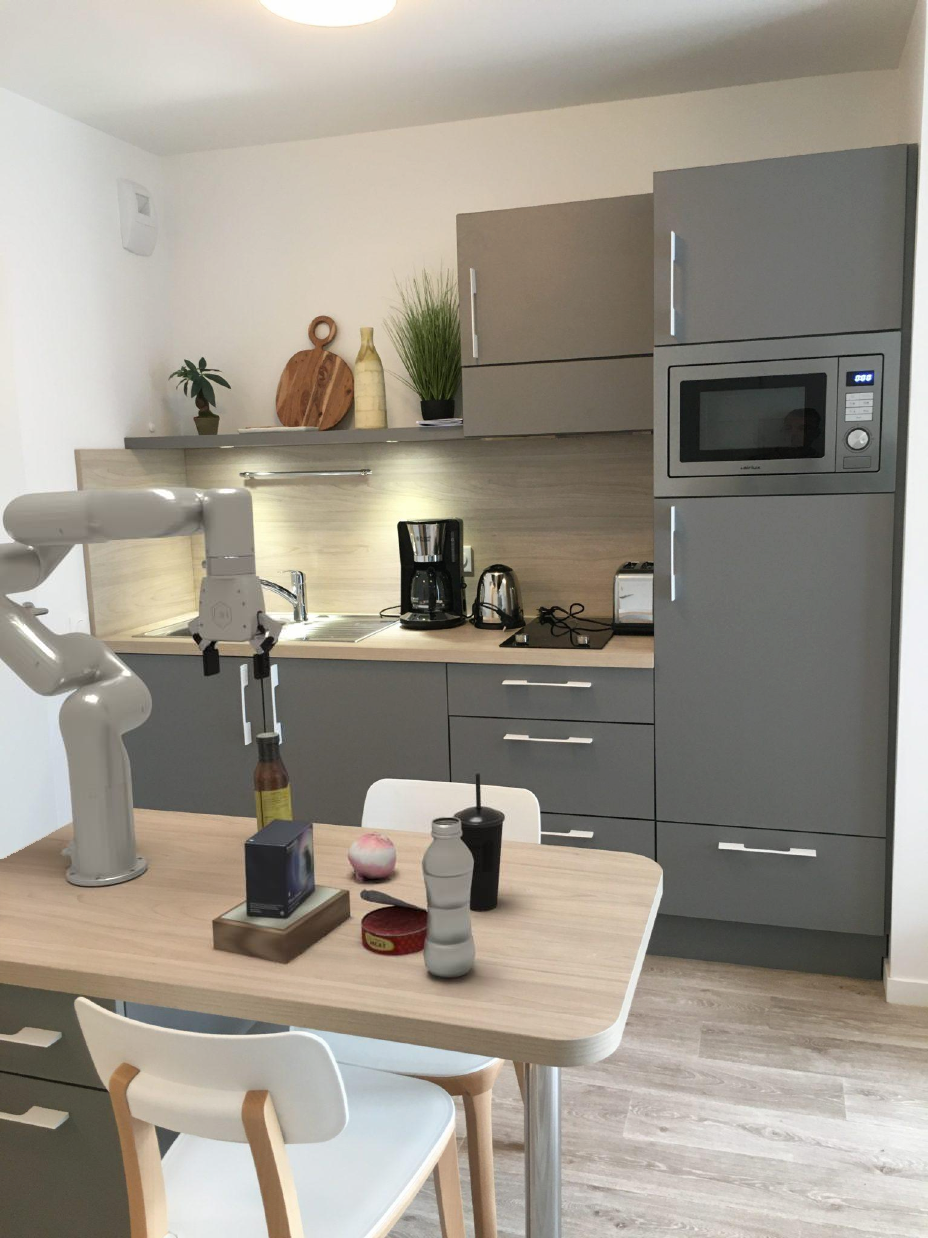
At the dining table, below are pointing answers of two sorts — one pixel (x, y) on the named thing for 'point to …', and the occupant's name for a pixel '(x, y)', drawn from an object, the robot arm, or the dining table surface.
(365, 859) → the onion
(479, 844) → the drinking cup
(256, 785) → the sauce bottle
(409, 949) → the canned food
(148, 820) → the dining table surface
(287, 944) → the base
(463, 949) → the plastic bottle
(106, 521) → the robot arm
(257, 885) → the small box
